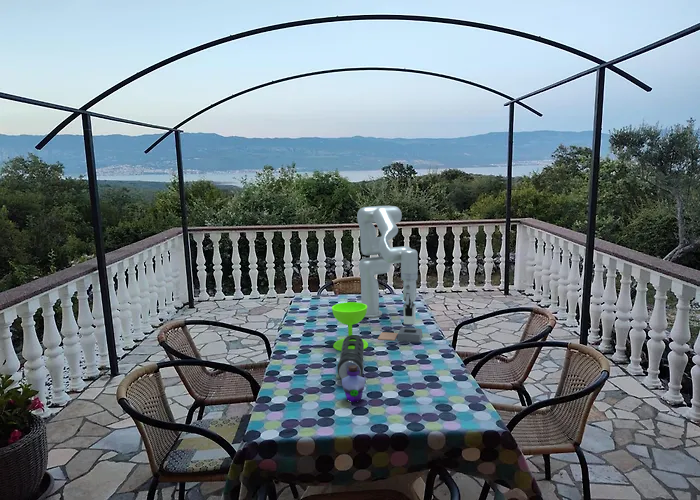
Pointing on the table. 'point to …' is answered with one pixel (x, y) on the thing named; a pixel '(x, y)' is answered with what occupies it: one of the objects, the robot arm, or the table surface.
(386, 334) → the mat
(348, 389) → the potion bottle
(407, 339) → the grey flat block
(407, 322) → the plug
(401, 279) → the robot arm
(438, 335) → the table surface
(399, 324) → the table surface
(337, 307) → the wineglass
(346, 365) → the muzzle brake
